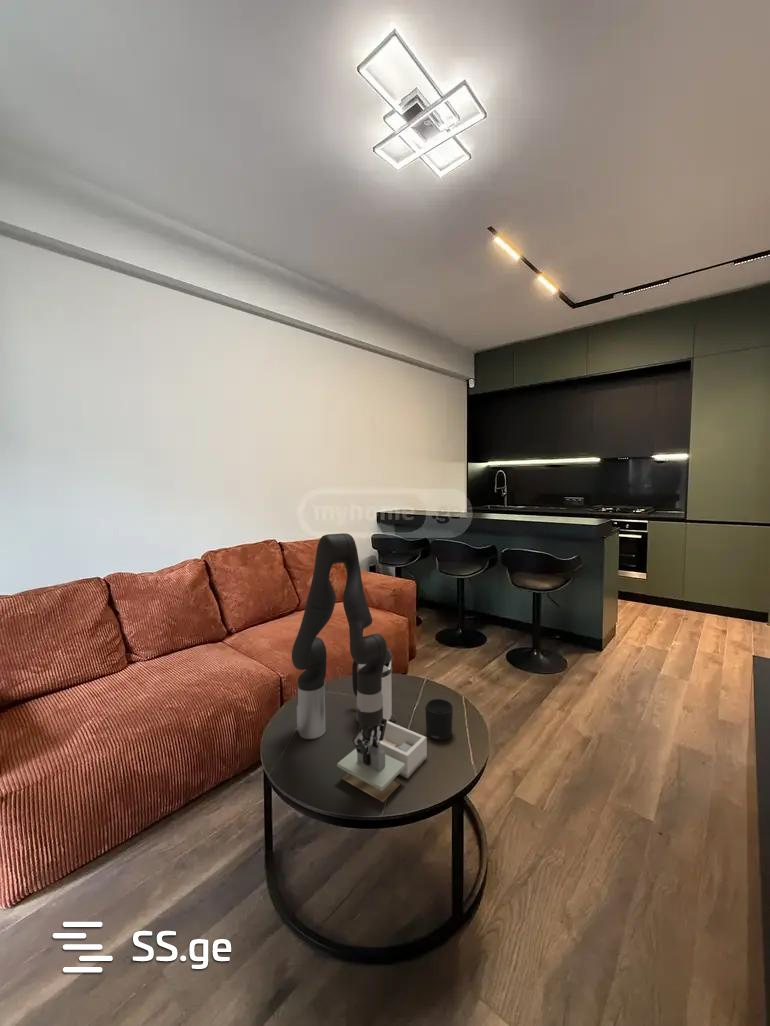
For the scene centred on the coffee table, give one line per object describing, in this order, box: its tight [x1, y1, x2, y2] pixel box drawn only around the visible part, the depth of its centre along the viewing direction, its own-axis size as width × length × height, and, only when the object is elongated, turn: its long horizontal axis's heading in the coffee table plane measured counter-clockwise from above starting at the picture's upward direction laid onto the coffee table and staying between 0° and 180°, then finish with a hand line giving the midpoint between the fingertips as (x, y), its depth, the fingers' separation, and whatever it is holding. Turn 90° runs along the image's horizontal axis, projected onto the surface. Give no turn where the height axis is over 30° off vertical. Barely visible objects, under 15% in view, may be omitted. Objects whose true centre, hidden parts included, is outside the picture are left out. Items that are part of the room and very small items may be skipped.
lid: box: [336, 745, 405, 791], centre depth 119 cm, size 16×11×7 cm
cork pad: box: [342, 772, 401, 803], centre depth 120 cm, size 15×8×1 cm, turn 53°
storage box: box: [379, 720, 428, 779], centre depth 130 cm, size 16×11×7 cm
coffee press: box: [351, 647, 397, 723], centre depth 150 cm, size 17×16×30 cm
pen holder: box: [424, 698, 454, 742], centre depth 142 cm, size 9×9×10 cm
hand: (370, 760), depth 119 cm, fingers closed on lid, 3 cm apart
